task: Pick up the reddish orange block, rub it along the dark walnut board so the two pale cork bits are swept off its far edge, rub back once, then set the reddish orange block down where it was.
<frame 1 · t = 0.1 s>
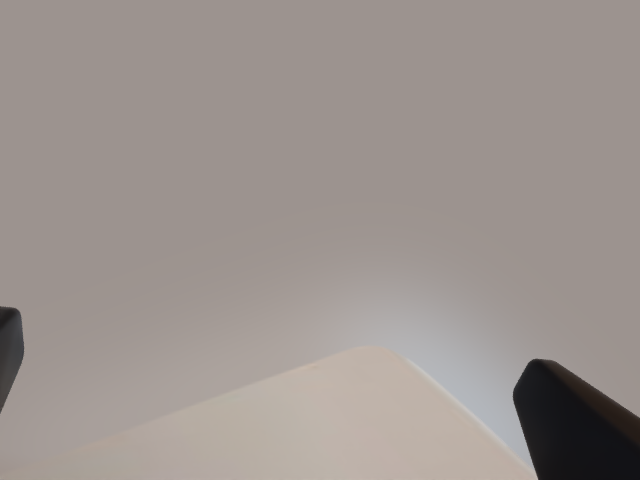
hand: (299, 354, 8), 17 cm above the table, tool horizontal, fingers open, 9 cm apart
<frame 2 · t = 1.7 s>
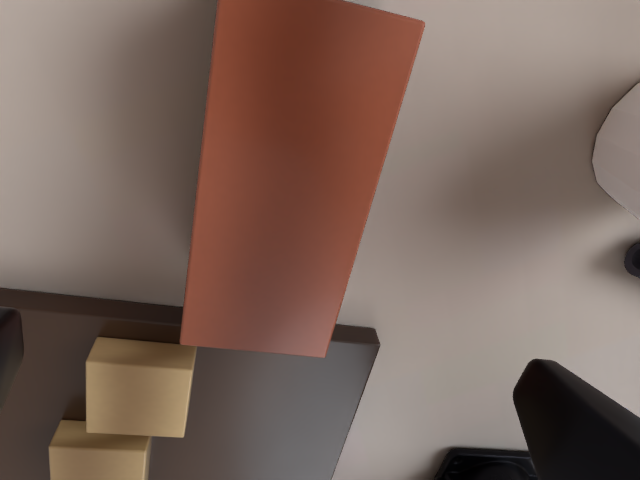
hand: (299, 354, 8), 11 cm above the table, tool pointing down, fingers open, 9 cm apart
cork bit a: (145, 375, 20), point 1 cm above the table, touching board
cork bit b: (107, 450, 22), point 1 cm above the table, touching board
reddish orange block: (278, 154, 18), on the table
board: (148, 395, 23), on the table
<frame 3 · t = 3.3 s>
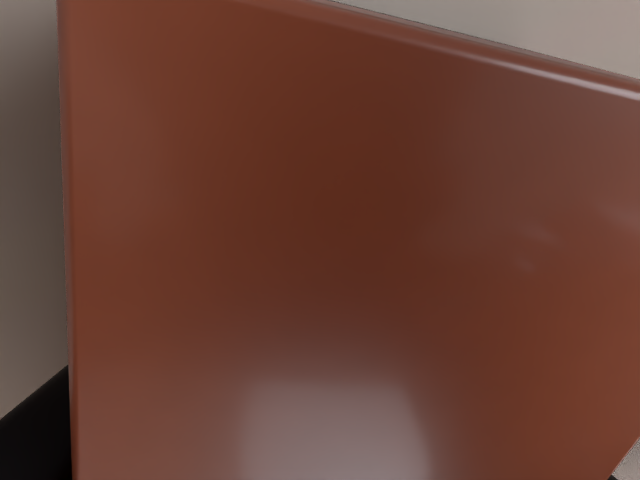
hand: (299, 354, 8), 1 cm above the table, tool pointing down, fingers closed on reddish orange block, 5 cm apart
reddish orange block: (294, 317, 9), on the table, touching gripper
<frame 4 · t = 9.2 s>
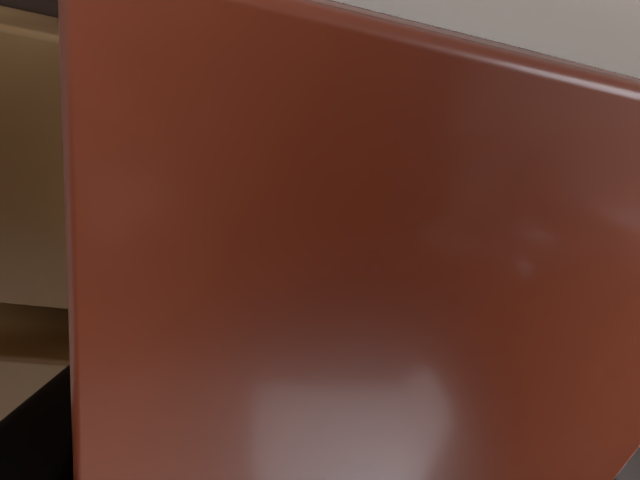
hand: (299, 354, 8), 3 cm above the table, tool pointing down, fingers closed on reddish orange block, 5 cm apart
cork bit a: (45, 148, 7), point 1 cm above the table
cork bit b: (57, 380, 10), point 1 cm above the table, touching reddish orange block
reddish orange block: (294, 318, 9), point 2 cm above the table, touching cork bit b, gripper
board: (392, 286, 11), on the table
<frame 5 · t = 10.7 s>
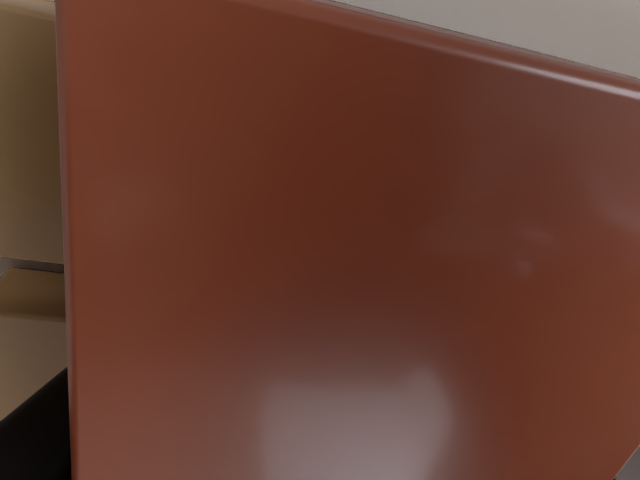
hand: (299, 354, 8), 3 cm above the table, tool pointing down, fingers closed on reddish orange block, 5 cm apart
cork bit a: (112, 133, 9), on the table
cork bit b: (110, 348, 11), on the table
reddish orange block: (293, 318, 9), point 2 cm above the table, touching gripper
board: (625, 317, 12), on the table
when the fingers open (1 cm above the table, at t = 17.5 s): reddish orange block stays where it is, on the table.
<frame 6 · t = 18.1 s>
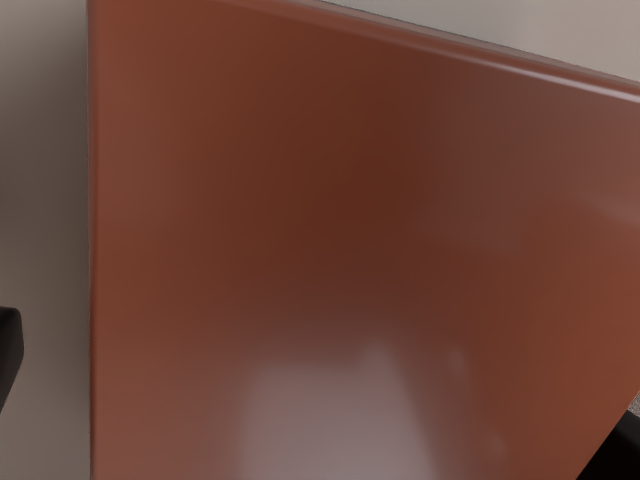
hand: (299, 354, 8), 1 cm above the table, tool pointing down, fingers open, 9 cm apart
reddish orange block: (295, 309, 9), on the table
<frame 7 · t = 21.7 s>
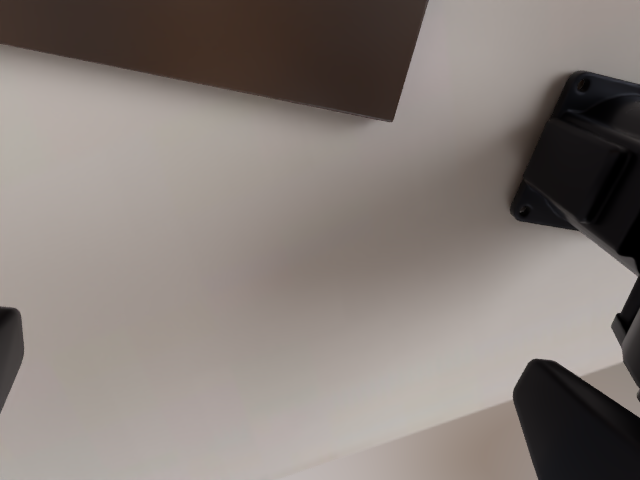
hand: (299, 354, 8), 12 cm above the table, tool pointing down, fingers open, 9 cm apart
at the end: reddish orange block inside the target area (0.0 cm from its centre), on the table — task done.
